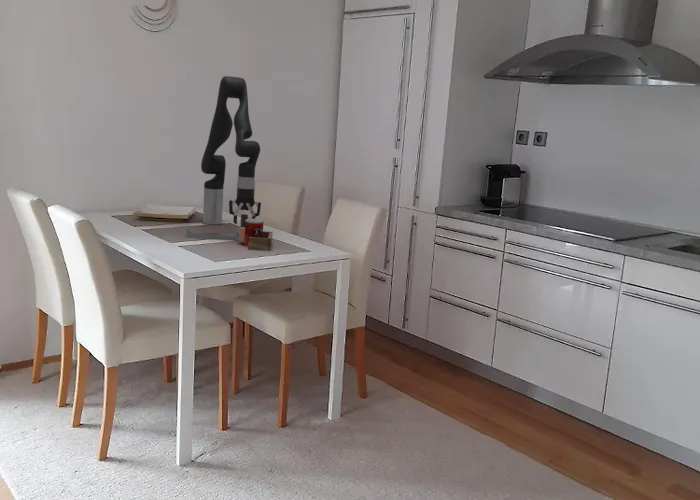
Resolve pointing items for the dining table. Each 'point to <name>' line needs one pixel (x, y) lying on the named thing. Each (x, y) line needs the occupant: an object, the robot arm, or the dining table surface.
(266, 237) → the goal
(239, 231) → the grey block with post
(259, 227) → the canned food
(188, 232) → the rail
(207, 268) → the dining table surface
